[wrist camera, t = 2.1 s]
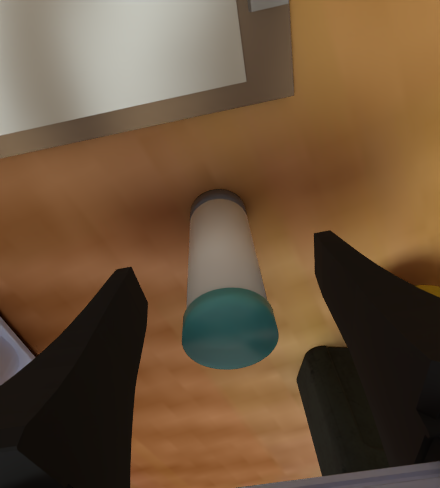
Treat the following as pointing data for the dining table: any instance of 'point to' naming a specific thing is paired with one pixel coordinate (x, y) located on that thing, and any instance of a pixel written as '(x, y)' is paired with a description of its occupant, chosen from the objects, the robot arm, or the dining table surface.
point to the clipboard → (133, 65)
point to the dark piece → (339, 413)
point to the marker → (225, 287)
